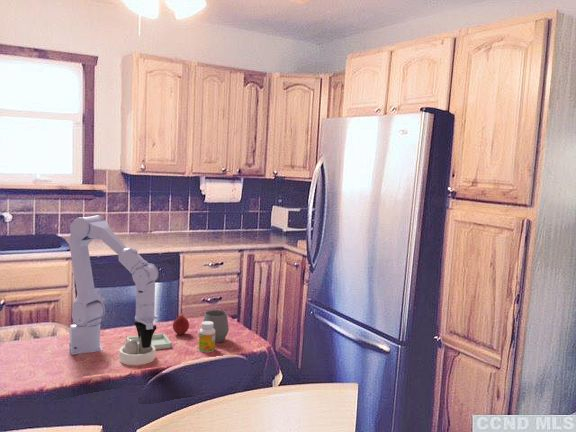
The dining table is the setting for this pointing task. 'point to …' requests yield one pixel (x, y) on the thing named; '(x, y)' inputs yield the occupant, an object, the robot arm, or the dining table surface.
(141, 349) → the stone
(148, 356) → the bowl
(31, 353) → the dining table surface
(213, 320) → the cup
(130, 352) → the stone
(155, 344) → the tray
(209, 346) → the supplement bottle
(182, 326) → the onion
